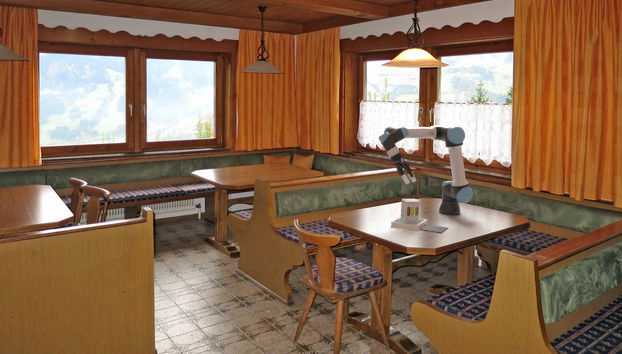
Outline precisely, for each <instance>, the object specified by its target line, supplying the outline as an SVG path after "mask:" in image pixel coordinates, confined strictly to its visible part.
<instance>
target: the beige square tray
mask: <svg viewBox="0 0 622 354" xmlns="http://www.w3.org/2000/svg"><path fill="white" fill-rule="evenodd" d="M400 220H401V216H399V217H397V218H395V219H394V220H392V221H391V223H390V226H391V227H395V228H399V229H400V228H401V229H406V230H407V229H408V230H412V231H413V230H415V231H418V230H420V229H421V228H422V227H424V225H427V224H428V219H427V218H426V219H425V218H420V217H419V223H418V225H413V224H406V223H400Z"/></svg>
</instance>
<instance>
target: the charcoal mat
mask: <svg viewBox="0 0 622 354" xmlns="http://www.w3.org/2000/svg"><path fill="white" fill-rule="evenodd" d="M448 229H449V227H447V226H440V225H432V224H428V223H427V224H426V225H425V226H423V227H421V228H420V229H419V231H423V230H424V232H429V231H430V232H431V233H436V232H437V233H436V234H443V233H444V232H446V230H448Z"/></svg>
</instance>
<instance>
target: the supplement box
mask: <svg viewBox="0 0 622 354" xmlns="http://www.w3.org/2000/svg"><path fill="white" fill-rule="evenodd" d="M420 204H421V203H420V200H417V199H416V198H401V203H400V205H401V206H400V217H401V220H400V222H399V223H406V224H413V225H418V224H419V218H420Z"/></svg>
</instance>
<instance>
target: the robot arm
mask: <svg viewBox="0 0 622 354" xmlns="http://www.w3.org/2000/svg"><path fill="white" fill-rule="evenodd" d="M404 139H431V140H433V141H434V140H435V141H436V140H437V141H441V142H445V143H444V144H445V147H446V148H447V149H448V154H449V155H448V157H449V162H450V169H451V176H452V180H447V181H446V180H445V181H443V182H442V191H441V193H442V194H441V203H440V205H439V209H438V212H439V213H440V214H445V215H452V216H453V215H454V216H455V215H459V214H461V208H460V207H461V206H460V203H461V204H467V203H469V202H470V201H471V200H472V198H473V196H474V191H473V189H472V188H471V187H470V183H469V181H467V179H466V171H465V166H464V165H465V164H464V157H463V150H462V149H463V148H462V146H463V145H464V140H465V139H466V132H465V130H464V129H463V128H462V126H461V127H460V126H459V125H451V124H442V125H441V124H440V125H432V126H430V127H429V126H428V127H427V126H426V127H425V126H421V127H420V126H419V127H417V126H416V127H413V126H411V127H410V126H408V127H407V126H405V125H403V126H400V127H399V126H397V127H396V126H393V127H392V126H387V127H386V128H384V131H383V133H382V134H381V135H379V136H378V140H379V143H380V144H381V146H382V147H383V148H384V150H385V152H386V155H388V157H389V158H390V160H391V162H392V163H394V166H395V168H396V170H397V173H398V176H399V177H401V178H402V180H403V181H404V184H405V185H408V184H410V183H411V182H412V183H415V182H417V179H416V177H415V176H414V174H413V172H412V171H413V169H412V168H411V167H410V165H408V163H407V162H406V161H405V159H404V158H403V154H402V152H400V150H399V148H398V147H397V145H396V144H398V142H399V143H400V142H401V141H402V140H404ZM404 171H405V172H404ZM406 174H407V176H406ZM408 177H409V178H408ZM409 179H410V180H409Z"/></svg>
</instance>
